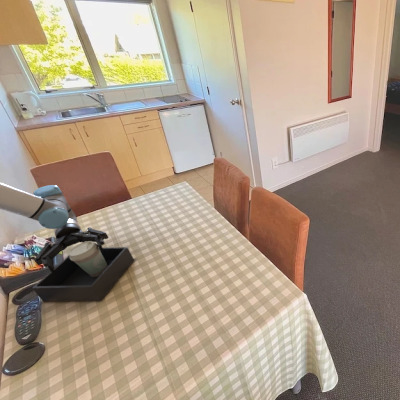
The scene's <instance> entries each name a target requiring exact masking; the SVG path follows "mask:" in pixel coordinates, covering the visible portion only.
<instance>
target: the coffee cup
mask: <svg viewBox="0 0 400 400" xmlns="http://www.w3.org/2000/svg"><path fill="white" fill-rule="evenodd" d="M68 256H69V258H70V260H72V261H74V262H75V263H76V264H77V265H79V266H80V267H81V268H82V269H83V270H84V271H86V272H87V273H88V274H89V275H90V276H92V277H97V276H100V275H101V273H102V272H103V271H104V270H105V269H106V268H107V267H108V265H107V263H106V261H105V259H104V257H103V255H102V253H101V252H100V250H99V247H98V245H97V242H92V241H87V242H80V243H78V244H77V245H75V246H74V247H72V248H71V249H70V250H69V252H68Z"/></svg>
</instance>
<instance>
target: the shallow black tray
mask: <svg viewBox="0 0 400 400" xmlns="http://www.w3.org/2000/svg"><path fill="white" fill-rule="evenodd" d="M98 248H99V247H98ZM102 248H103V250H104V251H103V252H101V250H100V248H99V250H100V252H101V253H102V255H103V257H104V259H105V261H106V263H107V265H108V267H107V268H106V269H105V270H104V271H103V272H102V273H101V275H100V276H97V277H92V276H90V275H89V274H88V273H87V272H86V271H84V270H83V269H82V268H81V267H80V266H79V265H77V264H76V263H75V262H74V261H72V260H70V258H69V255H68V256H67V257H65V258H64V259H63V260H62V261H61V262H59V264H57V266H54V269H55V272H51V271H49V272H48V273H47V274H46V275H45V276H44V277H43V278H42V279H40V280H39V281H38V282H37V283H36V284H35V285H34V286H33V287H31V289H32V290H33V291H34V292H35V293H36V295H37V296H38V297H39V298H40V300H41V301H42V302H43V303H55V302H56V303H57V302H58V303H59V302H61V303H62V302H97V301H98V302H101V301H102V300H103V299H104V298H105V296H106V295H107V294H108V293H109V292H110V291H111V289H112V288H113V287H114V286H115V284H116V283H117V282H118V281H119V279H120V278H121V277H122V275H124V273H126V271H127V270H128V269H129V267H130V266H131V265H132V264H133V262H135V259H134V257H133V254H132V253H131V252H130V249H129V247H128V246H119V247H118V246H115V247H114V246H112V247H102Z"/></svg>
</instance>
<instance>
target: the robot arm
mask: <svg viewBox="0 0 400 400" xmlns="http://www.w3.org/2000/svg"><path fill="white" fill-rule="evenodd" d="M0 210H2V211H6V212H8V213H12V214H14V215H19V216H20V217H25V218H28V219H31V220H34V221H37V222H38V223H39V224H40V226H42V228H45V229H49V230H53V232H54V236H55V241H54V242H49V241H47V242H45V243H44V246H43V247H42V248H41V250H40V251H39V252H38V253H37V255H36V256H35V257H34V259H33V261H34V262H35V263H36V265H37V266H41V265H43V266H44V267H45V268H48V270H49V272H55V269H54V268H55V265H54V261H53V259H54V258H56V257H57V256H58V254H60V253H61V252H62V251H65V250H66V249H67V248H69V247H72V246H73V245H76V244H80V243H83V242H87V241H92V242H94V243H96V244H97V245H98V248H100V250H101V252H103V251H104V250H103V248H104V247H103V245H105V241H104V240H108V239H109V236H108V234H107V232H105V231H102V230H98V229H93V228H92V227H91V226H89V227H87V229H86V230H84V231H83V229H82V228H81V226H80V223H79V221H78V219H77V218H78V217H77V214H76V213H75V212H74V211H73V209H72V207H71V206H70V204H69V203H68V200H67V199H66V197H65V195H64V193H63V191H62V190H61V189H60V186H58V185H56V184H54V185H53V184H50V185H45V186H41V187H38V188H36V189H34V191H33V194H32V193H29V192H26V191H24V190H21V189H18V188H16V187H13V186H10V185H7V184H5V183H3V182H0Z"/></svg>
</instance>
